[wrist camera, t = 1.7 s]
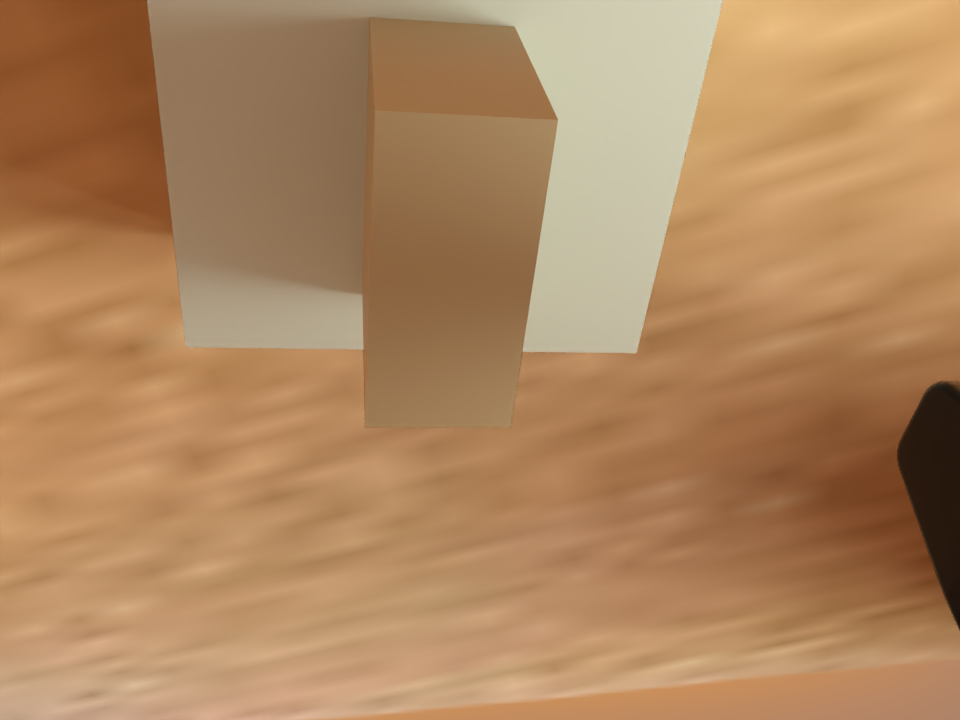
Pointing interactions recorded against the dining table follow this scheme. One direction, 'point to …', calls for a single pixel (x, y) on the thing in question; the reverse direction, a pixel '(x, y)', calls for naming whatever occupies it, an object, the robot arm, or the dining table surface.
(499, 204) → the square base with post
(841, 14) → the dining table surface
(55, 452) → the dining table surface
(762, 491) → the dining table surface
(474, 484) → the dining table surface
